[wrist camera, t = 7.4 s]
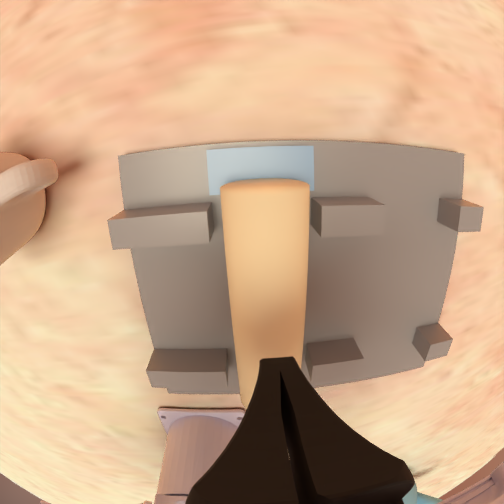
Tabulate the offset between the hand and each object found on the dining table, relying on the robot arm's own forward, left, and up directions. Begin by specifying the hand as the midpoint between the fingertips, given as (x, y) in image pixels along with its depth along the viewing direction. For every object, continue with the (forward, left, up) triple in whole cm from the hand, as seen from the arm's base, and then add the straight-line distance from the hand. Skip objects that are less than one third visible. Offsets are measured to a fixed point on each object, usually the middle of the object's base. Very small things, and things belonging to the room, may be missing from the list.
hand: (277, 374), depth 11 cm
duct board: (0, -3, -8) cm, 9 cm away
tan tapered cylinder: (0, 0, -7) cm, 7 cm away
